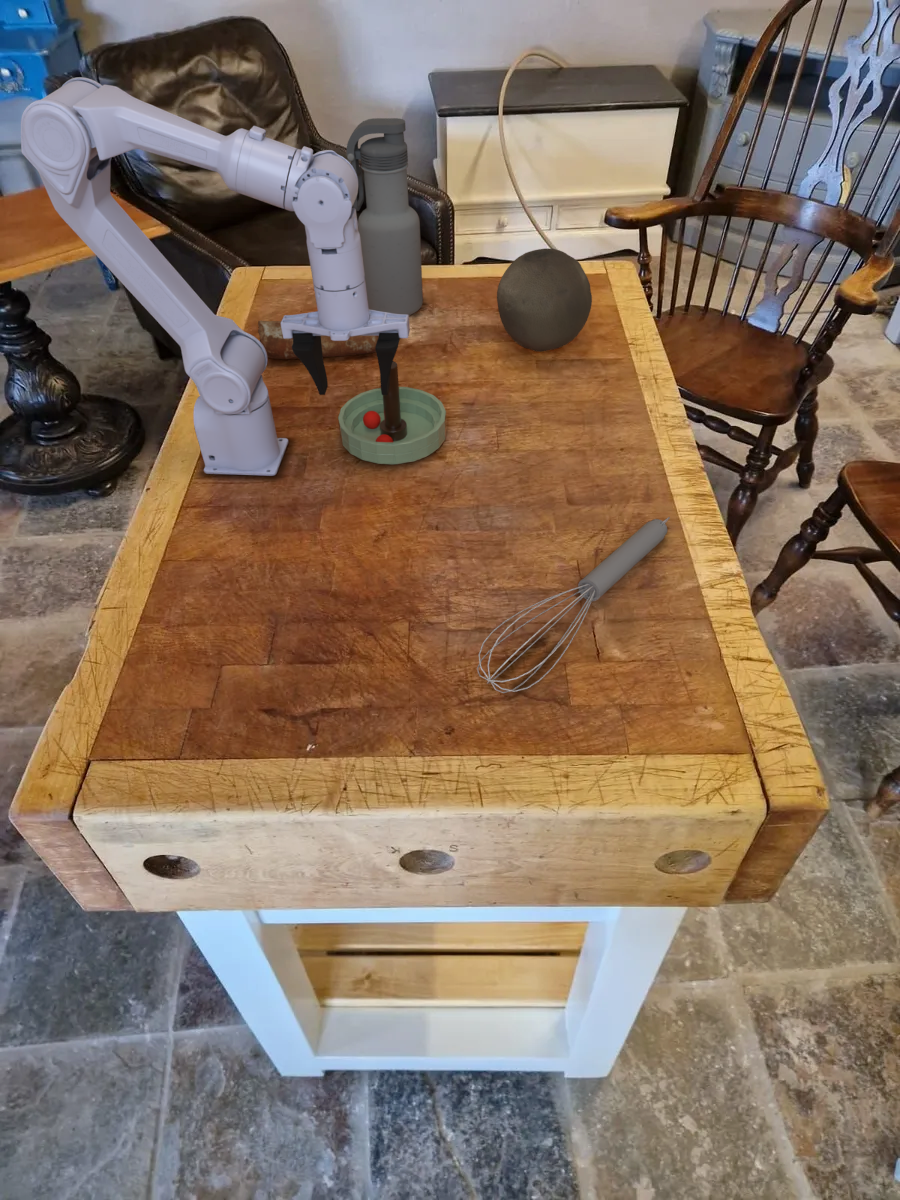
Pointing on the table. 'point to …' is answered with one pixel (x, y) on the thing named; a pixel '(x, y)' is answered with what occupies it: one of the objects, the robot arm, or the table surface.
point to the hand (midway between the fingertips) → (354, 390)
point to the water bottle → (387, 218)
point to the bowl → (416, 410)
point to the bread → (354, 345)
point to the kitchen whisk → (590, 589)
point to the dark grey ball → (544, 299)
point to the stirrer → (393, 409)
